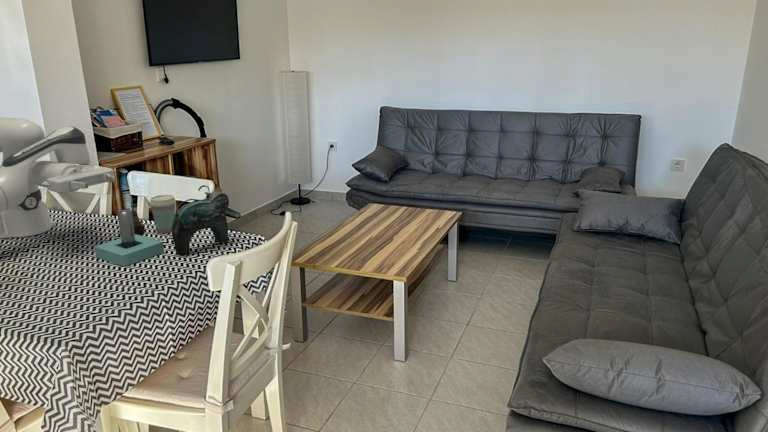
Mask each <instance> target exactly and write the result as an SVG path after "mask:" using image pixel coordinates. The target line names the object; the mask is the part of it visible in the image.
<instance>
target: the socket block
mask: <svg viewBox="0 0 768 432" xmlns="http://www.w3.org/2000/svg"><path fill="white" fill-rule="evenodd" d="M135 240H136V246H134V247H131V248H128V249H125V248H122V243H121V237H120V238H118V239H114V240H111V241H107V242H105V243H102V244H98V245H95V246H94V253H95V258H97V259H100V260H102V261H105V262H109V263H112V264H114V265H118V266H119V267H120V266H121V267H125V268H126V267H127V266H128V267H129V266H131V265H133V264H135V263H139V262H141V261H144V260H146V259H150V258H153V257H155V256H159V255H161V254H164V253H165V248H164V247H165V245H164V241H161V240H157V239H154V238H151V237H147V236H143V235H137V234H135Z"/></svg>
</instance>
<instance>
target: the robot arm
mask: <svg viewBox="0 0 768 432" xmlns="http://www.w3.org/2000/svg"><path fill="white" fill-rule="evenodd" d="M52 152H54V155H55V158H56V161H53V160H39V159H41V158H43V157H44V156H46V155H49V154H50V153H52ZM0 153H2V161H1V164H0V239H7V238H25V237H30V236H35V235H39V234H43V233H46V232H48V231H49V230H51V228H52V227H53V226H54V225H56V223H55V221H54V220H52V219H51V215H50V212H49V209H48V205H47V203H46V202H44V201H43V196H42V191H41V189H40V188H39V187H43V188H45V189H48V191H50V192H54V193H59V194H61V193H62V194H63V193H75V192H77V191H79V190H80V189H81V190H85V189H88V188H89V187H91V186H95V185H96V186H97V185H100V184H105V183H114V182H115V180H116V179H115V176H116V175H115V171H114V169H113V168H110V167H105V166H100V165H95V164H94V163H92V162H91V157H90V154H89V150H88V147H87V141H86V136H85V133H84V132H83V131H81V130H80V129H78V128H77V127H75V126H63V127H60V128H58V129H55V130H54V131H52V132H51V133H50V134H48V135H45V131H44V128H42V126H41V125H39V123H35V122H34V121H31V120H28V119H26V118H16V117H15V118H14V117H3V116H1V117H0ZM37 160H38V161H37Z"/></svg>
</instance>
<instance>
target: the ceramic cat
mask: <svg viewBox="0 0 768 432" xmlns="http://www.w3.org/2000/svg"><path fill="white" fill-rule="evenodd" d="M204 187H206V188H207V189H208V192H207V191H206V192H205V191H204V194H205V195H206V196H205V198H204V199H195V198H188V199H186V200H184V201H181V202H180V203H179V204H178V206H177V207H176V208H175V216H174V220H173V223H172V232H171V239H172V241H173V245H174V249H175V253H176V255H178V256H181V257H182V256H186V255H189V254H190V252H191V251H190V244H191V240H192V238H193V236H195V235H194V234H196V233H197V232H199V231H201V230H205V229H210V230H211V232H212V234H213V237H214V241H215V242H216V243H217V242H219V243H218V244H220V243H222V244H224V243H226V242H225V241H227V242H229V232H228V219H227V215H226V211H227V209H228V207H229V206H230V205H229V204H230V199H229V196H228V195H227V193H224V192H223V191H222V189H221V187H219V186H218V187H217V190H216V191H212V192H211V190H210V187H209V186H207V185H205V184H204V185H201V186H199V187H198V192H200V191H201V189H202V188H204ZM187 202H188V203H187ZM185 203H186V204H185ZM183 204H184V205H183ZM223 242H224V243H223Z"/></svg>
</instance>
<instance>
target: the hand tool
mask: <svg viewBox="0 0 768 432" xmlns="http://www.w3.org/2000/svg"><path fill="white" fill-rule="evenodd" d="M131 211H132V218H133V225H134V233H135V234H137V235H140V236H143V235H144V234H145V226H144V225H143V221H141V220H140V218H139V216H138V215H139V214H138V212H137V211H136V210H134V209H133V210H131Z"/></svg>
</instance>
